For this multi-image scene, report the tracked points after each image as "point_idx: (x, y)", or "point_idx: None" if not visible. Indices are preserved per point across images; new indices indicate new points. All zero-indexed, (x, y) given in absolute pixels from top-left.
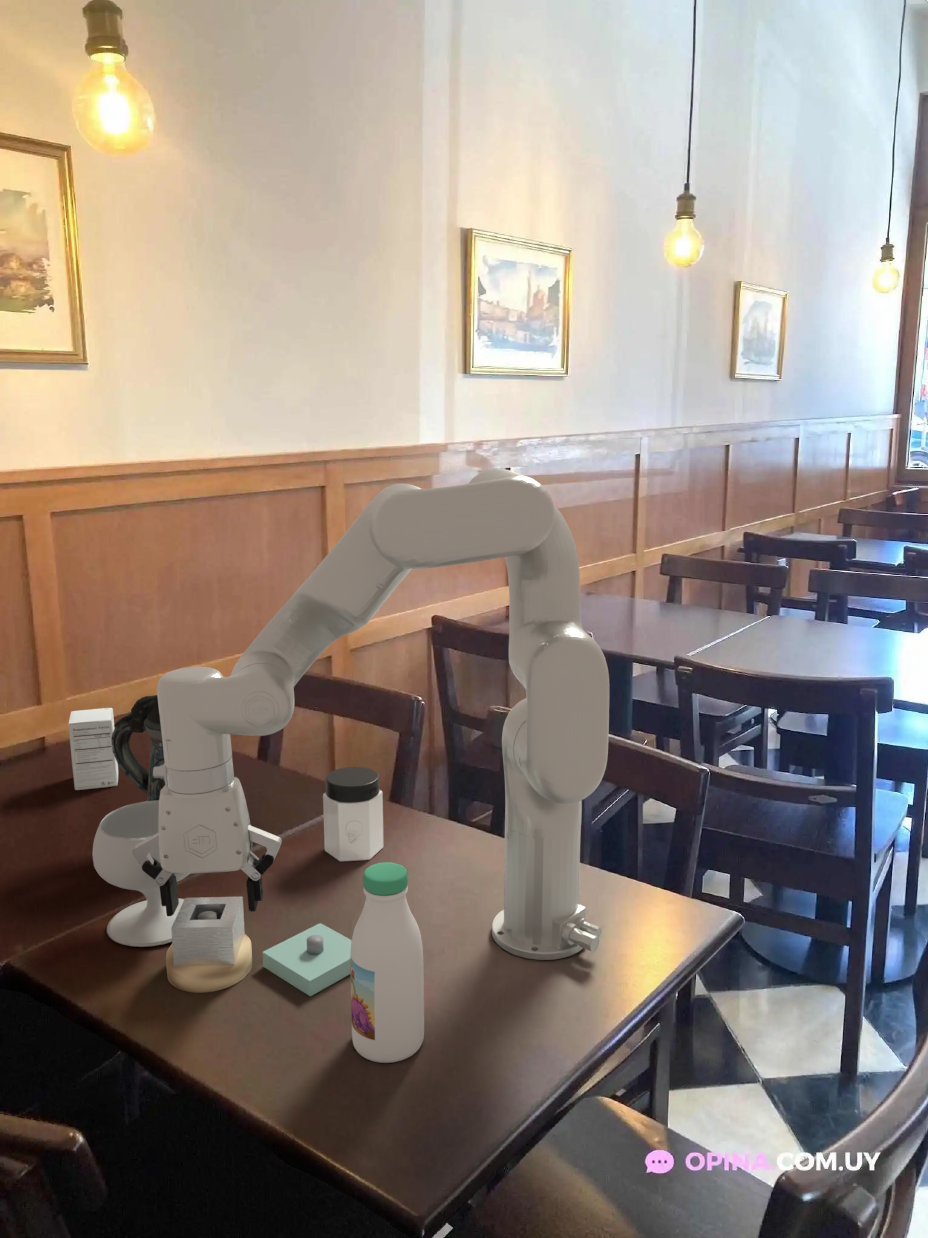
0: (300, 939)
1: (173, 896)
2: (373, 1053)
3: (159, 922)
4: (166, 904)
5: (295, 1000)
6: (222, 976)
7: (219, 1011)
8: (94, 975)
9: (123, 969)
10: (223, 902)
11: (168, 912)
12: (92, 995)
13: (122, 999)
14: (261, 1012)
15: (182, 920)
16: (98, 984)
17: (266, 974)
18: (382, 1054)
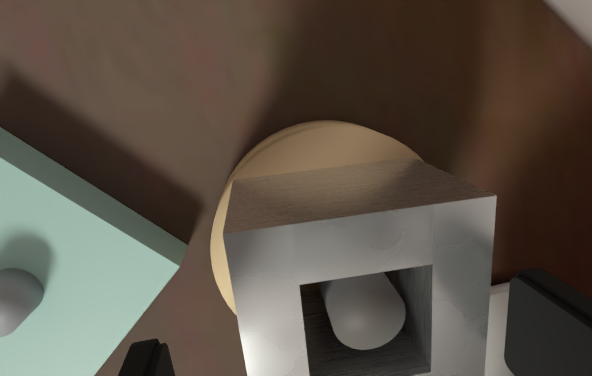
0: (88, 335)
1: (571, 357)
2: None
3: (491, 362)
4: (585, 299)
5: (33, 102)
6: (262, 147)
7: (238, 37)
8: (585, 172)
9: (526, 201)
10: None
11: (542, 275)
12: (576, 92)
13: (504, 79)
14: (113, 37)
15: (460, 257)
16: (570, 138)
17: (167, 214)
18: None
